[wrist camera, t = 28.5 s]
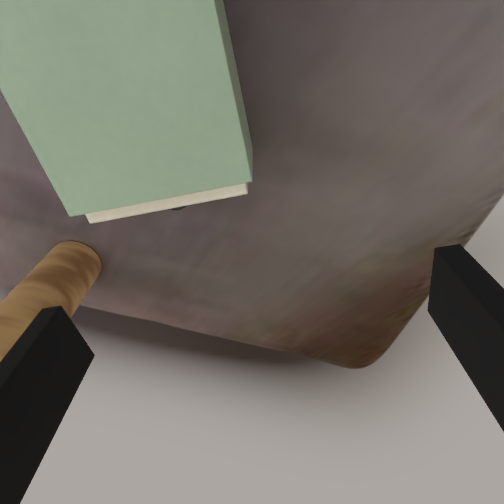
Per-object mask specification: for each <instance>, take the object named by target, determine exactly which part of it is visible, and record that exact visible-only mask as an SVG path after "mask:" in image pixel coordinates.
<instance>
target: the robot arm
mask: <svg viewBox="0 0 504 504" xmlns="http://www.w3.org/2000/svg"><path fill="white" fill-rule="evenodd" d="M428 312H429V314H430V315H431V317H432V318H433V320H434V322H435V323H436V325H437V326H438V328H439V330H440V331H441V333H442V334H443V336H444V337H445V339H446V341H447V342H448V344H449V345H450V347H451V349H452V350H453V352H454V353H455V355H456V357H457V358H458V360H459V361H460V363H461V364H462V366H463V368H464V369H465V371H466V372H467V374H468V376H469V377H470V379H471V380H472V382H473V384H474V385H475V387H476V388H477V390H478V392H479V393H480V395H481V396H482V398H483V400H484V401H485V403H486V404H487V406H488V408H489V409H490V411H491V412H492V414H493V415H494V417H495V418H496V420H497V422H498V423H499V425H500V427H501V428H502V430H503V431H504V288H502V286H500V284H499V283H497V281H496V280H495V279H494V278H493V277H492V276H491V275H490V274H489V273H488V272H487V271H486V270H485V269H484V268H483V267H482V266H481V265H480V264H479V263H478V262H477V261H476V260H475V259H474V258H473V257H472V256H471V255H470V254H469V253H468V252H467V251H466V250H465V249H464V248H463V247H462V246H461V245H460V244H457V245H451V246H444V247H438V248H435V250H434V259H433V268H432V276H431V285H430V294H429V302H428ZM93 358H94V353H93V352H92V351H91V349H90V348H89V346H88V345H87V343H86V342H85V340H84V339H83V337H82V336H81V334H80V333H79V331H78V330H77V328H76V327H75V325H74V324H73V322H72V321H71V319H70V318H69V316H68V315H67V313H66V312H65V310H64V309H63V307H62V306H54V307H48V308H42V309H41V311H40V312H39V313H38V314H37V316H36V317H35V318H34V319H33V321H32V322H31V323H30V325H29V326H28V327H27V328H26V330H25V331H24V332H23V333H22V335H21V336H20V337H19V339H18V340H17V341H16V342H15V344H14V345H13V346H12V348H11V349H10V350H9V351H8V353H7V354H6V355H5V356H4V358H3V359H2V360H1V362H0V504H20V502H21V500H22V498H23V496H24V494H25V492H26V490H27V488H28V486H29V485H30V483H31V480H32V479H33V477H34V475H35V473H36V471H37V469H38V467H39V465H40V463H41V461H42V459H43V457H44V455H45V453H46V451H47V449H48V447H49V445H50V443H51V441H52V439H53V437H54V435H55V433H56V431H57V429H58V427H59V425H60V423H61V421H62V419H63V417H64V415H65V413H66V411H67V409H68V407H69V405H70V403H71V401H72V399H73V397H74V395H75V393H76V391H77V389H78V387H79V385H80V383H81V381H82V379H83V377H84V375H85V373H86V371H87V369H88V367H89V366H90V363H91V362H92V360H93Z"/></svg>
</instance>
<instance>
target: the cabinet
mask: <svg viewBox="0 0 504 504" xmlns="http://www.w3.org/2000/svg"><path fill="white" fill-rule="evenodd" d="M0 90H1V92H2V94H3V95H4V97H5V99H6V101H7V103H8V105H9V106H10V108H11V110H12V112H13V114H14V116H15V117H16V119H17V121H18V123H19V125H20V127H21V128H22V130H23V132H24V134H25V136H26V138H27V139H28V141H29V143H30V145H31V147H32V149H33V150H34V152H35V154H36V156H37V158H38V160H39V161H40V163H41V165H42V167H43V169H44V170H45V172H46V174H47V176H48V178H49V180H50V181H51V183H52V185H53V187H54V189H55V191H56V192H57V194H58V196H59V198H60V200H61V202H62V203H63V205H64V207H65V209H66V211H67V213H68V214H69V216H70V217H72V216H77V215H82V214H88V213H93V212H98V211H103V210H108V209H114V208H119V207H124V206H129V205H134V204H139V203H145V202H150V201H155V200H160V199H165V198H170V197H176V196H181V195H186V194H191V193H196V192H202V191H207V190H212V189H217V188H222V187H227V186H233V185H238V184H243V183H248V182H252V181H253V177H252V176H253V147H252V142H251V137H250V132H249V127H248V122H247V117H246V112H245V107H244V102H243V97H242V92H241V87H240V82H239V77H238V72H237V67H236V62H235V57H234V52H233V47H232V42H231V37H230V32H229V27H228V22H227V17H226V12H225V7H224V2H223V0H0Z"/></svg>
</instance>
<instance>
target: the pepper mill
mask: <svg viewBox="0 0 504 504" xmlns="http://www.w3.org/2000/svg"><path fill="white" fill-rule="evenodd" d="M101 269H102V264H101V260H100V258H99V257H98V255H97V254H96V253H95V252H94V251H93V250H92V249H91V248H90V247H88V246H86V245H85V244H82V243H79V242H75V241H64V242H61V243H59V244H57V245H56V246H55V247H54V248H53V249H52V250H51V251H50V252H49V253H48V254H47V255H46V256H45V257H44V258H43V259H42V260H41V261H40V262H39V263H38V264H37V265H36V266H35V267H34V268H33V269H32V270H31V271H30V272H29V273H28V274H27V275H26V276H25V277H24V278H23V279H22V280H21V281H20V282H19V283H18V284H17V285H16V287H15V288H14V289H13V290H12V291H11V292H10V293H9V294H8V295H7V296H6V297H5V298H4V299H3V300H2V301H1V302H0V362H1V360H2V359H3V358H4V356H5V355H6V354H7V353H8V351H9V350H10V349H11V348H12V346H13V345H14V344H15V342H16V341H17V340H18V339H19V337H20V336H21V335H22V333H23V332H24V331H25V330H26V328H27V327H28V326H29V325H30V323H31V322H32V321H33V319H34V318H35V317H36V316H37V314H38V313H39V312H40V311H41V309H42V308H48V307H54V306H62V307H63V309H64V310H65V312H66V313H67V315H68V316H69V318H71V317H72V315H73V314H74V312H75V311H76V309H77V308H78V306H79V305H80V303H81V302H82V300H83V299H84V297H85V296H86V294H87V293H88V291H89V290H90V288H91V287H92V285H93V284H94V282H95V281H96V279H97V278H98V276H99V275H100V273H101Z"/></svg>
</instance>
